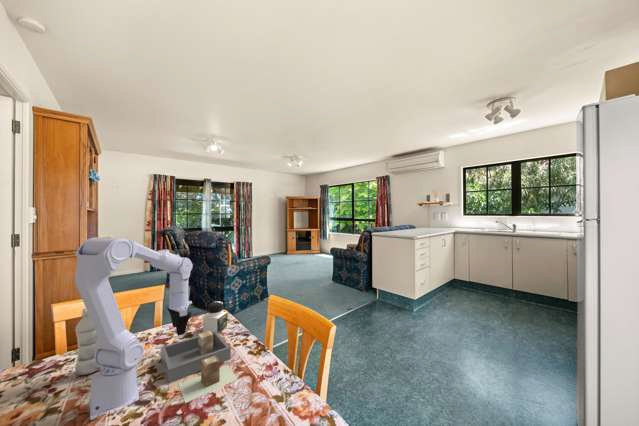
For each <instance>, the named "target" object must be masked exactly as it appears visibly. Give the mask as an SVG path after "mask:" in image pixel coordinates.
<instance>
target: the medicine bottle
mask: <svg viewBox="0 0 639 426" xmlns="http://www.w3.org/2000/svg"><path fill="white" fill-rule="evenodd" d="M226 328H228V312H227V311H224V303H223V302H222V301H218V300H217V301H212V302H210V303H209V304H208V305H207V314H206V315H204V316H202V333H203V332H206V331H211V332H213V331H216V332H217V333H218V334H219V335H220V333H221V332H222V331H223V330H225V329H226Z"/></svg>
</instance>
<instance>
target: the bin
mask: <svg viewBox="0 0 639 426" xmlns="http://www.w3.org/2000/svg"><path fill="white" fill-rule="evenodd" d="M212 334H213V351H212V352H209V353H206V354H204V355H201V354H200V353H199V351H198V335H197V336H193V337H191V338H186V339H184V340H181V341H178V342H174V343H170V344H167V345H164V346H161V347H160V361H161V364H162V366H163V369H164V372H165V376H166V379H167V382H168V384H171V383H173V382H177V381H178V380H181V379H184V378H186V377H189V376H191V375H194V374H197V373H199V372H201V360H203V359H206V358H209V357H211V356H214V355H216V357H217V358H218V359H219V361H220V364H222V363H224V362H227V361H230V360H231V357H232V356H231V346H230V344H228V342H226V340H225V339H223V337H222V336H221V335H220V333H219V334H218V333H217V332H216V331H213V332H212Z"/></svg>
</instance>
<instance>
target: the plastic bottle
mask: <svg viewBox="0 0 639 426" xmlns="http://www.w3.org/2000/svg"><path fill="white" fill-rule="evenodd" d="M81 317H82V318H81V319H80V320H79V321H78V322H77V324H76V325H75V326H76V327H75V328H74V329H75V330H74V331H75V335H76V341H77V356H76V362H75V367H74V370H75V374H77V375H79V376H87V375H89V374H93V373H96V372H98V371H99V370H100V365H98V364H96V363H95V360H94V357H95V348H94V345H95V343H96V342H97V341H98V340H99V338H98V336H97V333H96V331H95V328H94V326H93V324H92V321H91V319H90V317H89V314H88V312H87V309H86V307H85V308H84V309H82V312H81Z"/></svg>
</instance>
